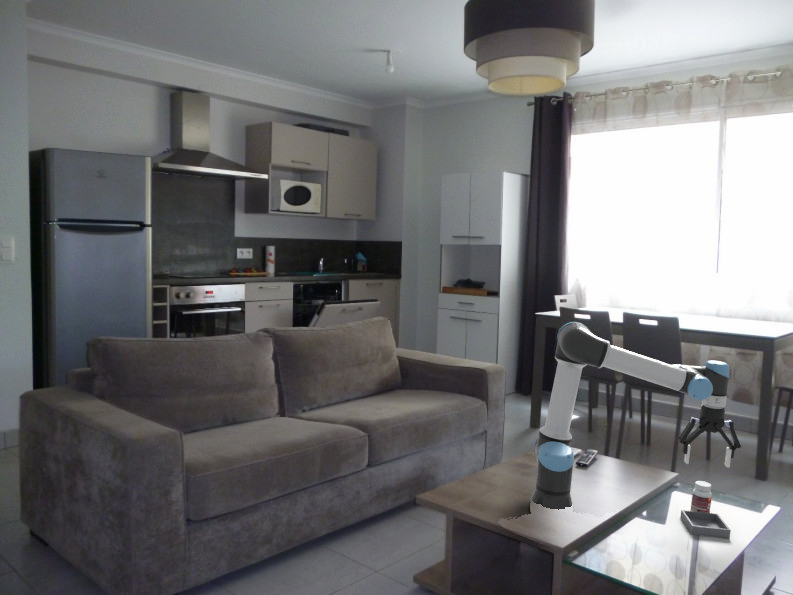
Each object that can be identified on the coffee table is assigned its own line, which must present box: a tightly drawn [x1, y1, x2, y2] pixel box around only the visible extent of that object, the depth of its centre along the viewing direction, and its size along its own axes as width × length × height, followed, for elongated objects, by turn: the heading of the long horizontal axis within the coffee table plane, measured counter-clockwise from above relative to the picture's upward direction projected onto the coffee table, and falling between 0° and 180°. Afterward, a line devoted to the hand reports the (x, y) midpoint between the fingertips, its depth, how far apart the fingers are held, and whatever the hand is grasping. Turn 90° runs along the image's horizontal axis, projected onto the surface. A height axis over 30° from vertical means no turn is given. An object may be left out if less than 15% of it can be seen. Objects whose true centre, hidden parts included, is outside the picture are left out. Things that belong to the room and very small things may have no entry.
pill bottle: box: [690, 480, 713, 513], centre depth 231 cm, size 6×6×11 cm
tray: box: [679, 509, 732, 540], centre depth 221 cm, size 12×12×3 cm
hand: (706, 464), depth 229 cm, fingers open, 13 cm apart
